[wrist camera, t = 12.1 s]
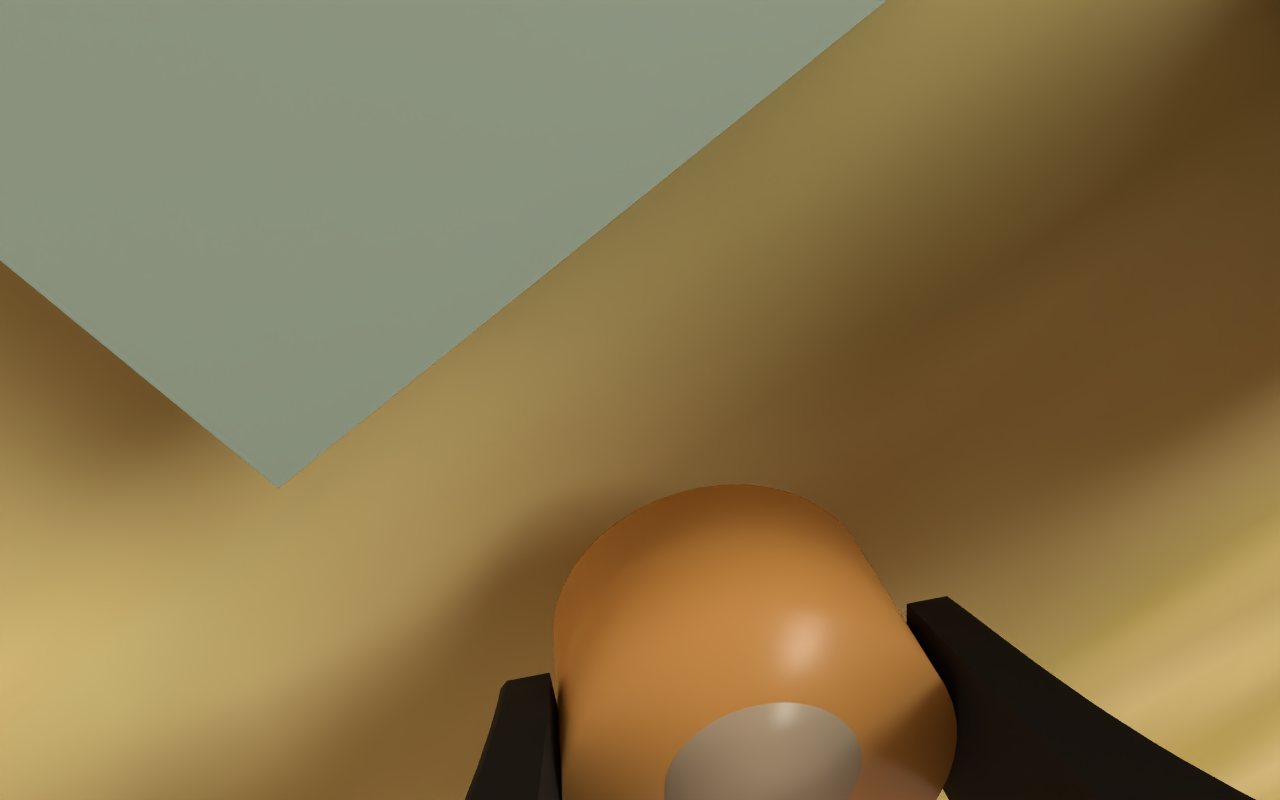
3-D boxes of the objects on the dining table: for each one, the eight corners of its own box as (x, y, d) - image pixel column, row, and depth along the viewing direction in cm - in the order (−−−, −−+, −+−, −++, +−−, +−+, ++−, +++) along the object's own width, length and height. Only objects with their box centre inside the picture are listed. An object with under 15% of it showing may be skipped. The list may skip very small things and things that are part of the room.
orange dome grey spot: (924, 627, 14) (1021, 776, 11) (678, 784, 15) (714, 958, 12) (759, 419, 12) (830, 542, 9) (483, 617, 13) (474, 782, 10)
